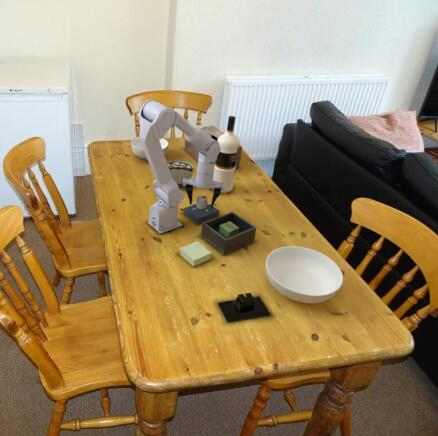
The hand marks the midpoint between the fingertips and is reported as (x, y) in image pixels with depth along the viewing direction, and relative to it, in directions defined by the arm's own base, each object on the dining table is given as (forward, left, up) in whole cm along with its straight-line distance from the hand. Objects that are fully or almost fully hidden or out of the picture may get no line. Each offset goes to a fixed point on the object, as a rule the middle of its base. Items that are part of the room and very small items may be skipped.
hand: (201, 204), depth 149 cm
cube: (-3, -18, -3) cm, 18 cm away
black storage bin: (-3, -17, -3) cm, 18 cm away
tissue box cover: (+34, +33, -4) cm, 48 cm away
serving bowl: (-1, -45, -4) cm, 46 cm away
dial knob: (0, 0, -1) cm, 1 cm away
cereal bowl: (+10, +49, -4) cm, 50 cm away
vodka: (+19, +10, -4) cm, 21 cm away
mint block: (-18, -19, -3) cm, 26 cm away
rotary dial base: (-1, -1, -3) cm, 4 cm away
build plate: (-21, -43, -4) cm, 48 cm away
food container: (+5, +21, -4) cm, 21 cm away
